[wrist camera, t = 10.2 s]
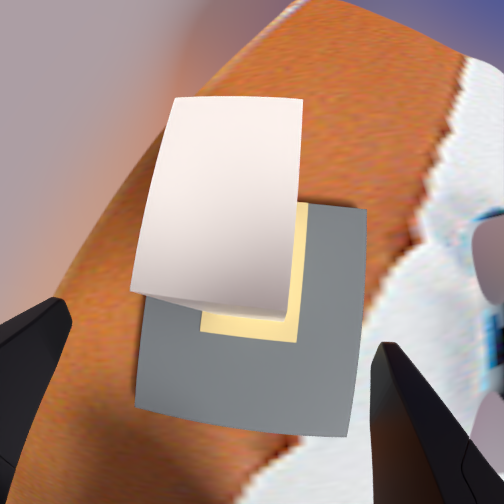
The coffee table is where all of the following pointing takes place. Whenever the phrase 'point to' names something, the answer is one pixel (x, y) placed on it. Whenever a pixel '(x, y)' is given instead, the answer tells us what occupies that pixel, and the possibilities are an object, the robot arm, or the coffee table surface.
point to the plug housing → (223, 207)
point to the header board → (268, 343)
